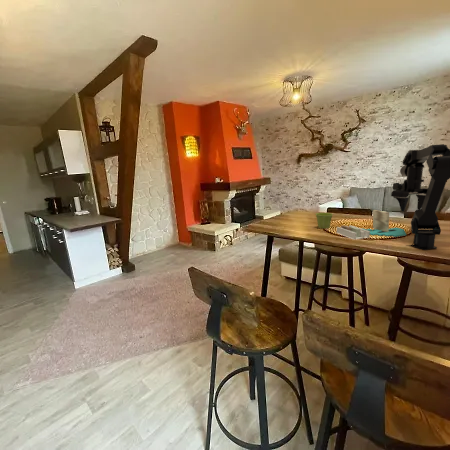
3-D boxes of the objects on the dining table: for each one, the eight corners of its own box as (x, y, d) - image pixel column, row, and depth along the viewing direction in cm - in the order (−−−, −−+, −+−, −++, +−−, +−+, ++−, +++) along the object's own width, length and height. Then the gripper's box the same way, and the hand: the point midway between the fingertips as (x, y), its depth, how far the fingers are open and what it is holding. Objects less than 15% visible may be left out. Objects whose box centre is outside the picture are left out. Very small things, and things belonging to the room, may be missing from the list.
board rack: (370, 239, 125) (371, 231, 124) (353, 241, 123) (353, 233, 122) (351, 232, 138) (351, 225, 137) (335, 234, 136) (335, 227, 135)
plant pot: (314, 226, 154) (314, 212, 152) (330, 226, 152) (331, 212, 151) (316, 230, 146) (316, 215, 144) (333, 230, 144) (334, 215, 142)
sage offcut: (359, 237, 126) (360, 229, 125) (357, 237, 125) (357, 229, 124) (351, 234, 131) (351, 226, 130) (349, 234, 131) (349, 226, 130)
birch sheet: (388, 231, 129) (389, 212, 127) (386, 232, 129) (387, 212, 127) (374, 227, 138) (375, 209, 135) (372, 228, 138) (373, 210, 135)
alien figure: (352, 232, 140) (383, 241, 121) (353, 228, 139) (384, 237, 121) (382, 228, 145) (416, 236, 126) (382, 224, 144) (416, 232, 125)
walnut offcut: (350, 235, 129) (351, 227, 128) (348, 235, 129) (348, 228, 128) (343, 232, 135) (343, 225, 134) (340, 232, 134) (341, 225, 134)
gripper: (415, 175, 128) (412, 206, 132) (383, 178, 125) (380, 209, 128) (437, 176, 118) (433, 209, 121) (403, 179, 114) (399, 213, 118)
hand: (410, 210), depth 122 cm, fingers open, 9 cm apart
